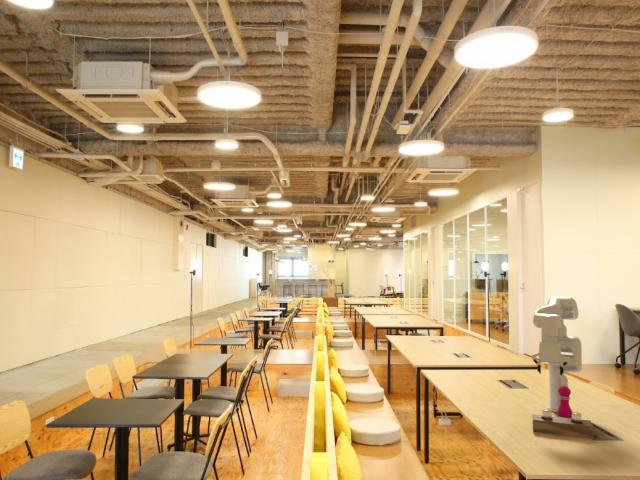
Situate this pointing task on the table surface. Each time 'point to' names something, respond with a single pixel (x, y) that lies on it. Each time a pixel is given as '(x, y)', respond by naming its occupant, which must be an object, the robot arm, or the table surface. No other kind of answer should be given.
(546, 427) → the collar block
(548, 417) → the peg
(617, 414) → the table surface
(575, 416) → the peg
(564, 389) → the pepper mill
